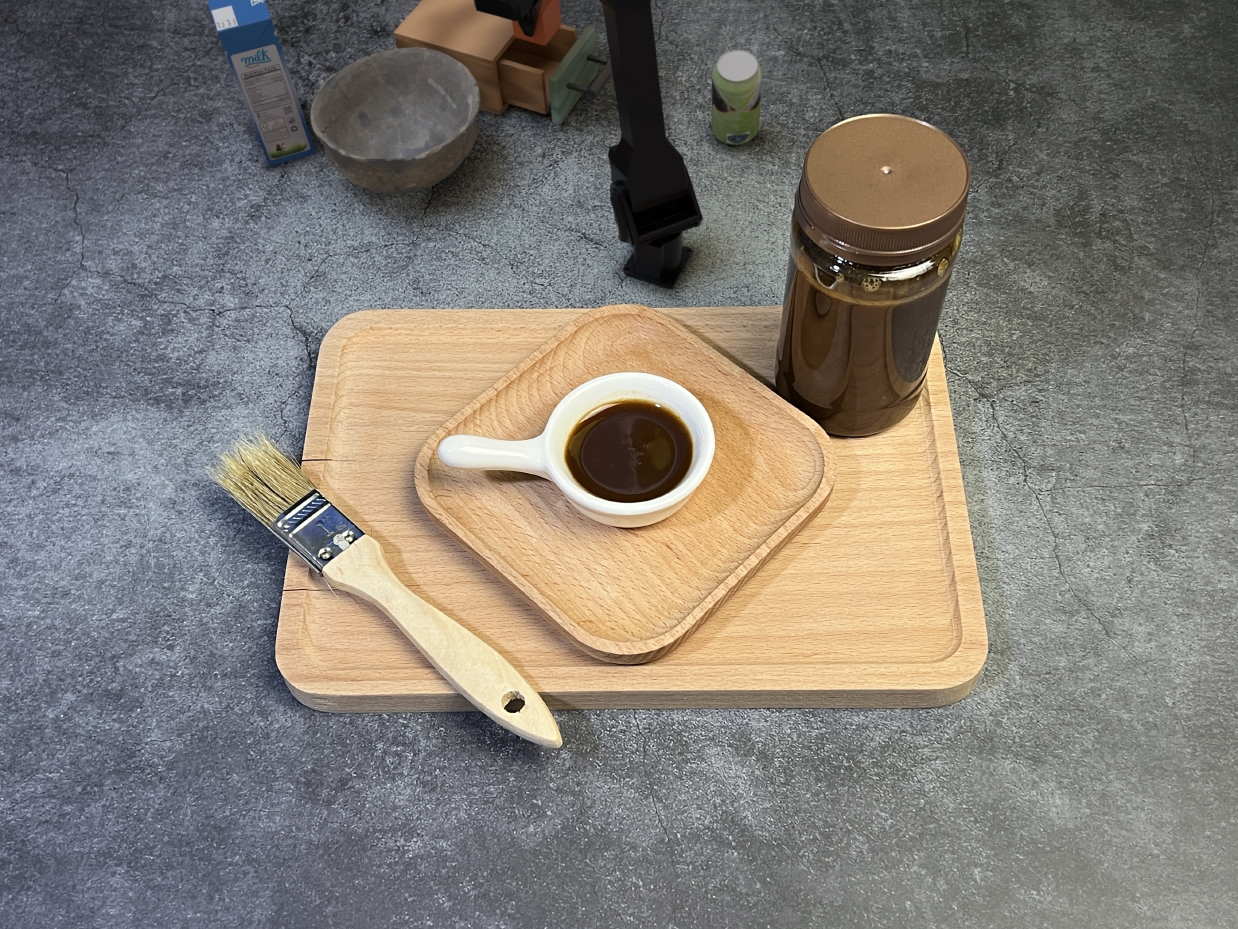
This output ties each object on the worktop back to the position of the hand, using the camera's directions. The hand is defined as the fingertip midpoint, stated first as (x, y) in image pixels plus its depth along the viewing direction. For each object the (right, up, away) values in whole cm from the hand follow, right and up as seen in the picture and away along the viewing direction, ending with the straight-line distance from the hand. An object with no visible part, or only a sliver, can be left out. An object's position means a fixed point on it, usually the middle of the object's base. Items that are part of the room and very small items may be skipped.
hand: (537, 24), depth 138 cm
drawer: (+1, -5, +8) cm, 10 cm away
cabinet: (-9, -2, +12) cm, 15 cm away
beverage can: (+25, -13, +4) cm, 28 cm away
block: (0, -1, +1) cm, 1 cm away
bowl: (-17, -17, +3) cm, 24 cm away
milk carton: (-34, -12, +6) cm, 36 cm away
